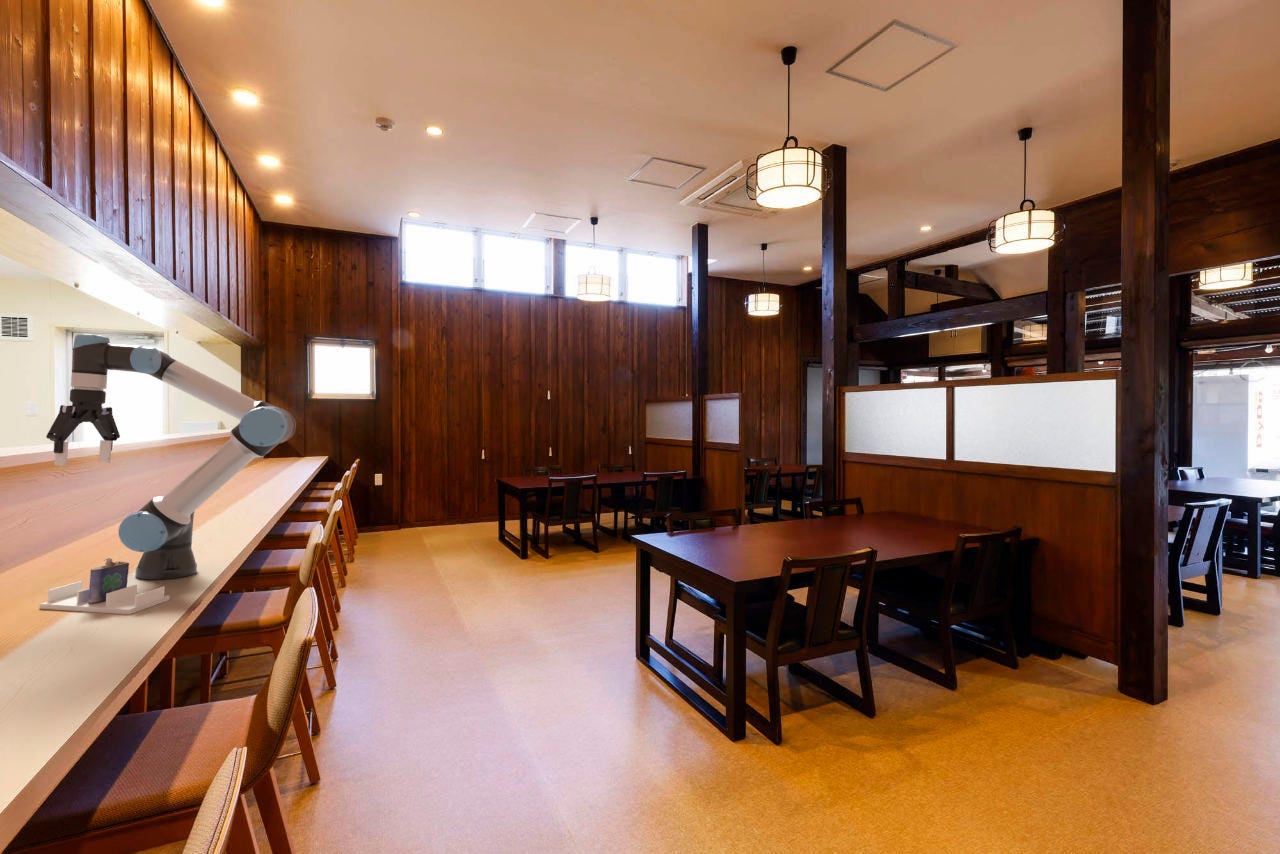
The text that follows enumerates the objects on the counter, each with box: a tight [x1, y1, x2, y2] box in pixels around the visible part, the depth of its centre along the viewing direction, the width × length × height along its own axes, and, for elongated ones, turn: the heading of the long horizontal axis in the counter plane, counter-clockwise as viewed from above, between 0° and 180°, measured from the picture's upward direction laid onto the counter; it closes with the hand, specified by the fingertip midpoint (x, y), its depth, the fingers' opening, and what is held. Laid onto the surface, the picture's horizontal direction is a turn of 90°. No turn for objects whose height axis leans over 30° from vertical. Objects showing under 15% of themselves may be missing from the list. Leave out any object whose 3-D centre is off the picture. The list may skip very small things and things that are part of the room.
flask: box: [88, 557, 130, 604], centre depth 159 cm, size 9×3×11 cm, turn 171°
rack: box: [39, 580, 171, 615], centre depth 159 cm, size 13×23×4 cm, turn 90°
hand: (83, 464), depth 172 cm, fingers open, 13 cm apart
